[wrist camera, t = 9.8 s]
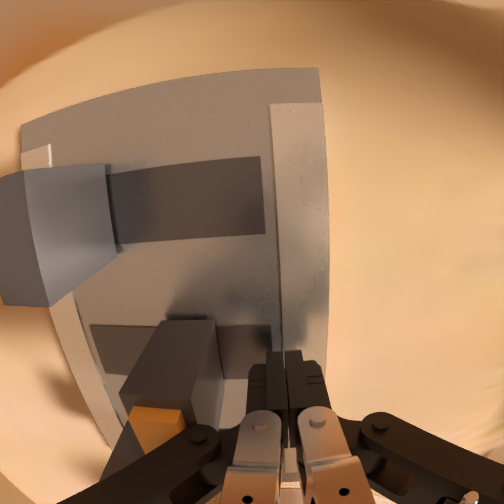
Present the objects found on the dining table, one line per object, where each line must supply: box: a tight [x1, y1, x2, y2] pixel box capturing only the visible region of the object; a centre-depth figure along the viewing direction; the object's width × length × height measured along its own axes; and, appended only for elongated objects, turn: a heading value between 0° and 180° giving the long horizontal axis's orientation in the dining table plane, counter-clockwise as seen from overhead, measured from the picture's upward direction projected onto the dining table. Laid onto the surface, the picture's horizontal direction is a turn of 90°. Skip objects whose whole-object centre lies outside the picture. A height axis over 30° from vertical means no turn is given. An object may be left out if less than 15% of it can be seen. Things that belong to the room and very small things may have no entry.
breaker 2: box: [99, 420, 145, 482], centre depth 13 cm, size 2×4×5 cm, turn 4°
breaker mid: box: [118, 320, 225, 455], centre depth 11 cm, size 2×4×6 cm, turn 4°
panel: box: [21, 68, 330, 482], centre depth 15 cm, size 14×24×2 cm, turn 4°
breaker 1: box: [0, 163, 117, 307], centre depth 9 cm, size 2×4×5 cm, turn 4°
